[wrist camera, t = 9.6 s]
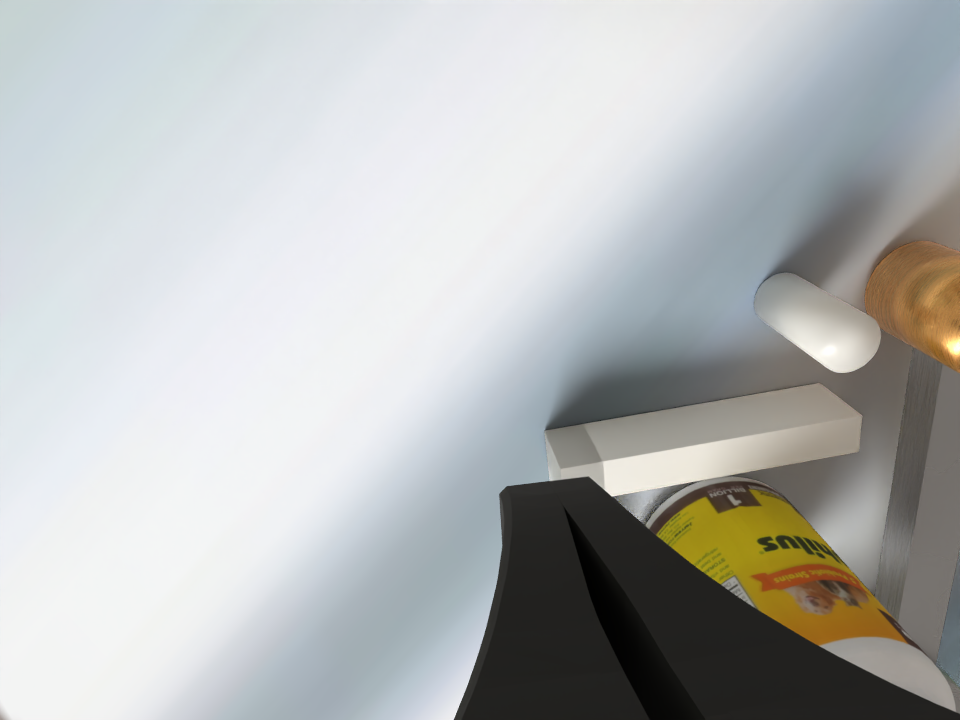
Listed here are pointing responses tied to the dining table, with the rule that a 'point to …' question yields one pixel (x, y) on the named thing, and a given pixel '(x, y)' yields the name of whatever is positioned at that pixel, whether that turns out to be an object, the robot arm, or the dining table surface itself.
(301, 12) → the dining table surface
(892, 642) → the supplement bottle
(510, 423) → the dining table surface
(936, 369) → the gold-tipped lever
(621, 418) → the socket
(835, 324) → the post
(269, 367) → the dining table surface
